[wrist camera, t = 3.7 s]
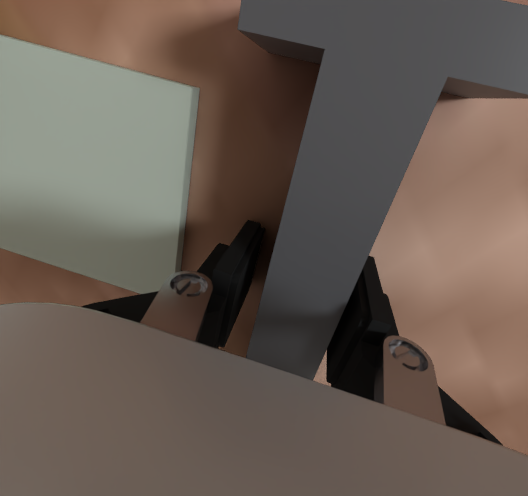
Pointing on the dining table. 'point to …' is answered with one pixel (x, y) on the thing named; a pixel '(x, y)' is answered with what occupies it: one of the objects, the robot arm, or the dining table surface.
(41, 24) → the dining table surface
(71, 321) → the robot arm
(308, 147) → the grey t-shaped block
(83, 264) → the mat
